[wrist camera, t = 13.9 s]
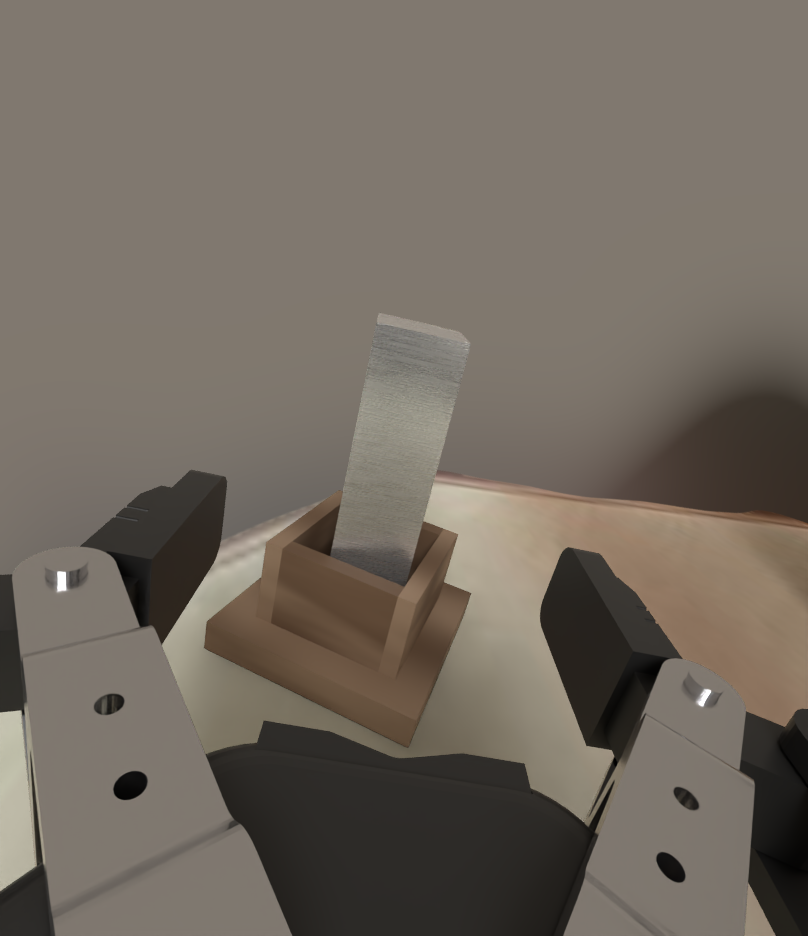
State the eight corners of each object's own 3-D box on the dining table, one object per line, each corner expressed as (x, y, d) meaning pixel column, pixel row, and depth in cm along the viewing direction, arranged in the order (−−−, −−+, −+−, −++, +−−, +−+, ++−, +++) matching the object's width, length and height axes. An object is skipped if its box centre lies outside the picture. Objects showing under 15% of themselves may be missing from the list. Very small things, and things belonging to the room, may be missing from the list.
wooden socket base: (313, 552, 32) (327, 473, 30) (464, 614, 30) (490, 532, 28) (204, 647, 23) (214, 544, 21) (407, 747, 21) (441, 641, 19)
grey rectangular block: (325, 579, 27) (379, 313, 22) (391, 591, 28) (459, 331, 22) (316, 624, 24) (376, 322, 19) (391, 636, 24) (470, 343, 19)
